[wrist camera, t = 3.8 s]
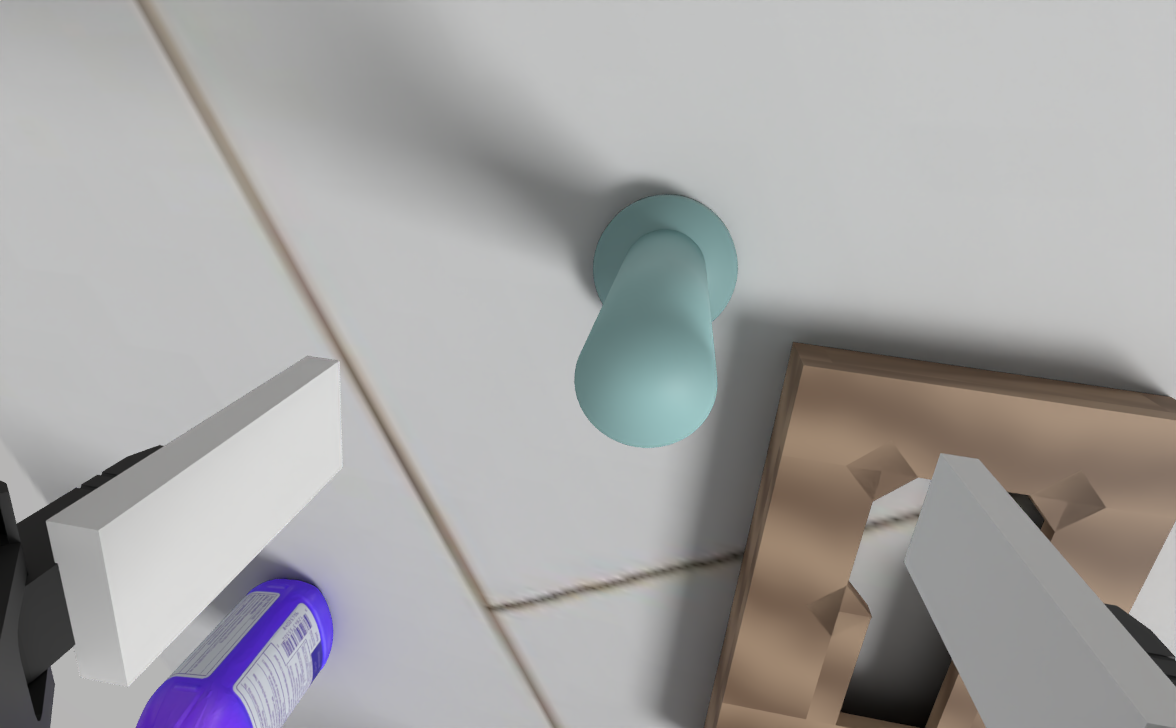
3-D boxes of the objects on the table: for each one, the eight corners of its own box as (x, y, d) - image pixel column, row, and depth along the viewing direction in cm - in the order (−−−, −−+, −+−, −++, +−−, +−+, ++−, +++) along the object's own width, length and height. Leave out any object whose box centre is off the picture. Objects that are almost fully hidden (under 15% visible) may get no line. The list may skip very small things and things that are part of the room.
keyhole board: (793, 342, 34) (803, 365, 31) (1170, 396, 32) (1222, 427, 29) (701, 739, 44) (701, 787, 41) (984, 797, 42) (1008, 852, 39)
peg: (604, 186, 33) (532, 243, 18) (748, 204, 32) (798, 279, 17) (589, 321, 35) (515, 471, 20) (722, 341, 34) (746, 511, 20)
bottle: (250, 564, 44) (-1, 820, 28) (330, 570, 44) (117, 838, 27) (271, 650, 47) (50, 930, 31) (346, 658, 46) (161, 949, 30)
